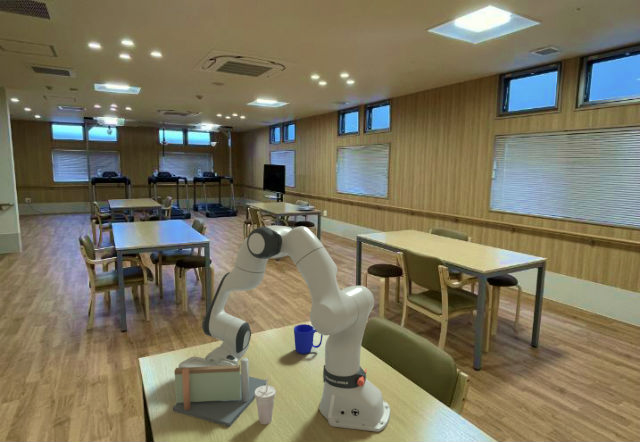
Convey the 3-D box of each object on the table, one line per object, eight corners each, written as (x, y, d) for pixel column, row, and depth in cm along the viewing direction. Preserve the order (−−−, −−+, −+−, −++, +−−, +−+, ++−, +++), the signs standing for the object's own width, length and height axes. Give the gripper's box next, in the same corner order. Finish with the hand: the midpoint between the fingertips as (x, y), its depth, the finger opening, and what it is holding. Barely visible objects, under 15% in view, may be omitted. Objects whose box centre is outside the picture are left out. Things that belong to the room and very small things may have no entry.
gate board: (267, 383, 136) (267, 343, 134) (229, 426, 114) (228, 379, 111) (217, 372, 143) (216, 333, 141) (172, 410, 121) (170, 365, 119)
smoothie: (272, 428, 113) (271, 385, 111) (251, 425, 114) (250, 382, 112) (278, 415, 119) (278, 373, 117) (259, 412, 121) (258, 370, 118)
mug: (322, 356, 156) (322, 333, 154) (293, 355, 156) (293, 332, 154) (322, 346, 164) (323, 324, 162) (294, 346, 164) (294, 323, 163)
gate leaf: (240, 396, 125) (239, 365, 124) (240, 399, 124) (239, 368, 122) (177, 399, 123) (175, 367, 121) (176, 403, 121) (174, 370, 120)
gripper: (193, 348, 140) (165, 368, 127) (241, 359, 133) (217, 381, 120) (194, 364, 141) (166, 385, 128) (242, 376, 134) (218, 399, 121)
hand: (191, 383), depth 124 cm, fingers closed
